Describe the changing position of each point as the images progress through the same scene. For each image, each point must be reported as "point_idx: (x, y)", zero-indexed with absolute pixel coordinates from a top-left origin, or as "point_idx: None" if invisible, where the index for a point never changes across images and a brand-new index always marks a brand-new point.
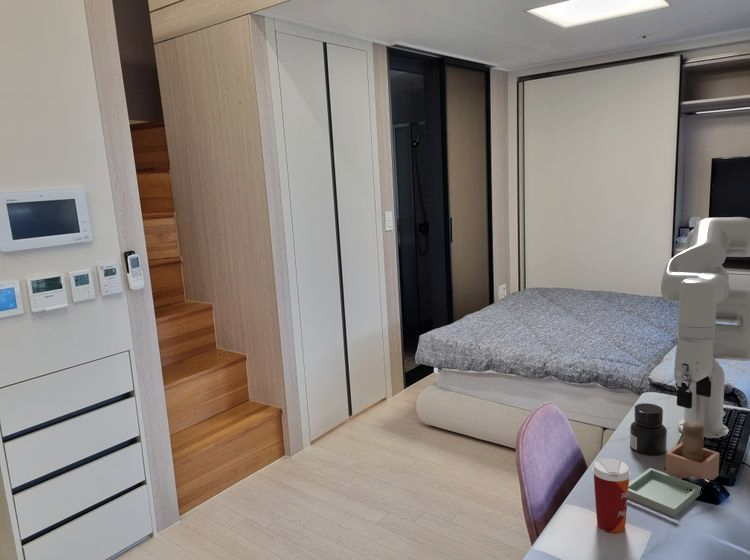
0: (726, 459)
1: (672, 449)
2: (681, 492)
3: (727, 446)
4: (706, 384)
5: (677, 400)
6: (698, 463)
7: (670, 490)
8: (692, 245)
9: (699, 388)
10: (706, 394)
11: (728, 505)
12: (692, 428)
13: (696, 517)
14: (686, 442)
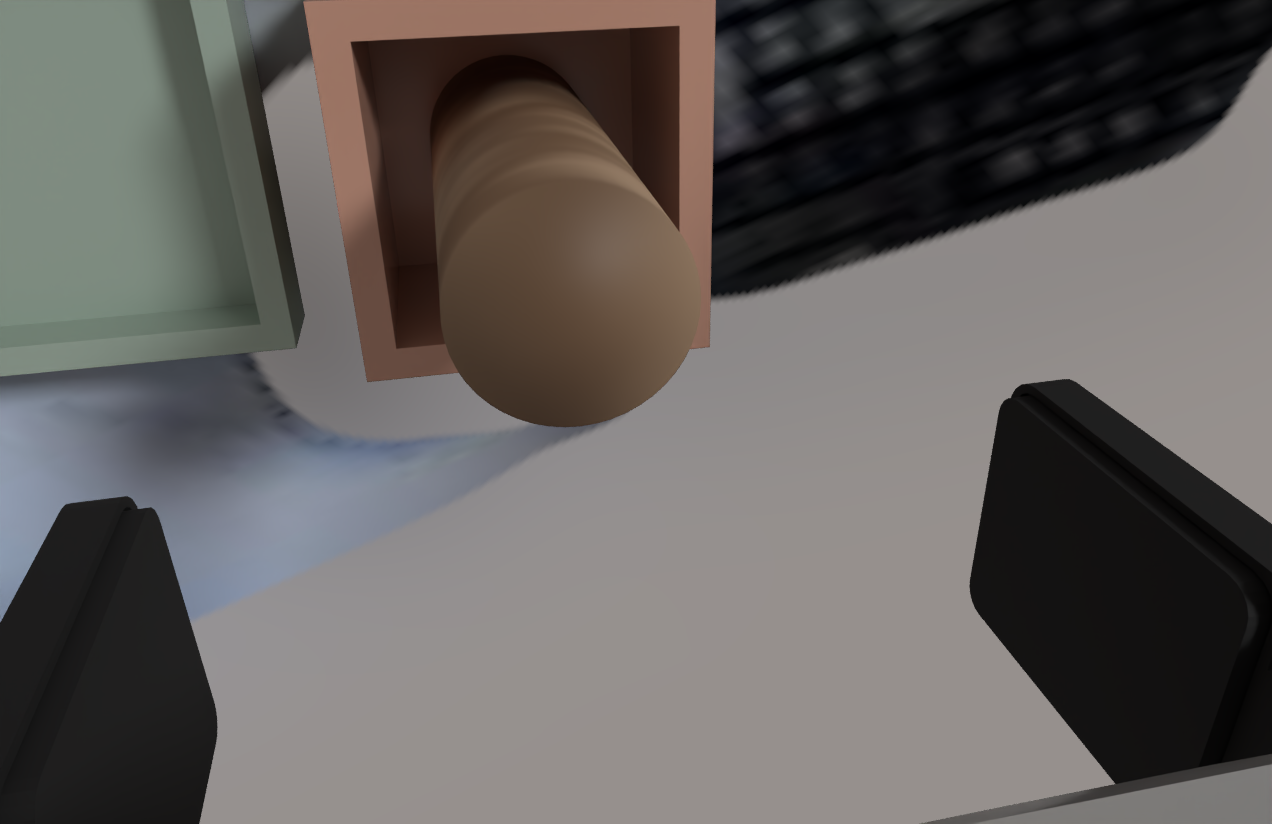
0: (972, 166)
1: (441, 10)
2: (168, 232)
3: (1196, 68)
4: (1139, 739)
5: (36, 580)
6: (370, 337)
7: (111, 158)
8: None
9: (1078, 527)
10: (996, 589)
11: (348, 470)
12: (478, 349)
13: (13, 430)
14: (436, 224)
